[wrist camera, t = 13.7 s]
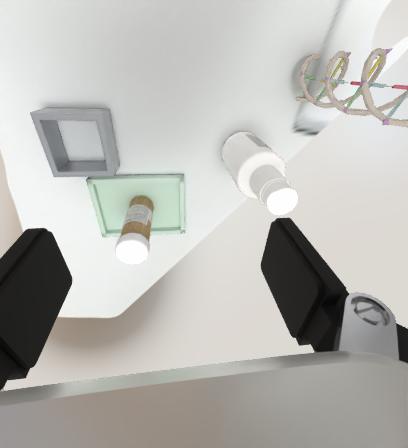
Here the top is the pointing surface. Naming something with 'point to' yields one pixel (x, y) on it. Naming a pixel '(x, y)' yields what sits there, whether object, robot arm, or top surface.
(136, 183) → the tray
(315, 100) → the dna model
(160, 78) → the top surface
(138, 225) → the sprinkles bottle
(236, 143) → the white bottle
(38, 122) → the holder
